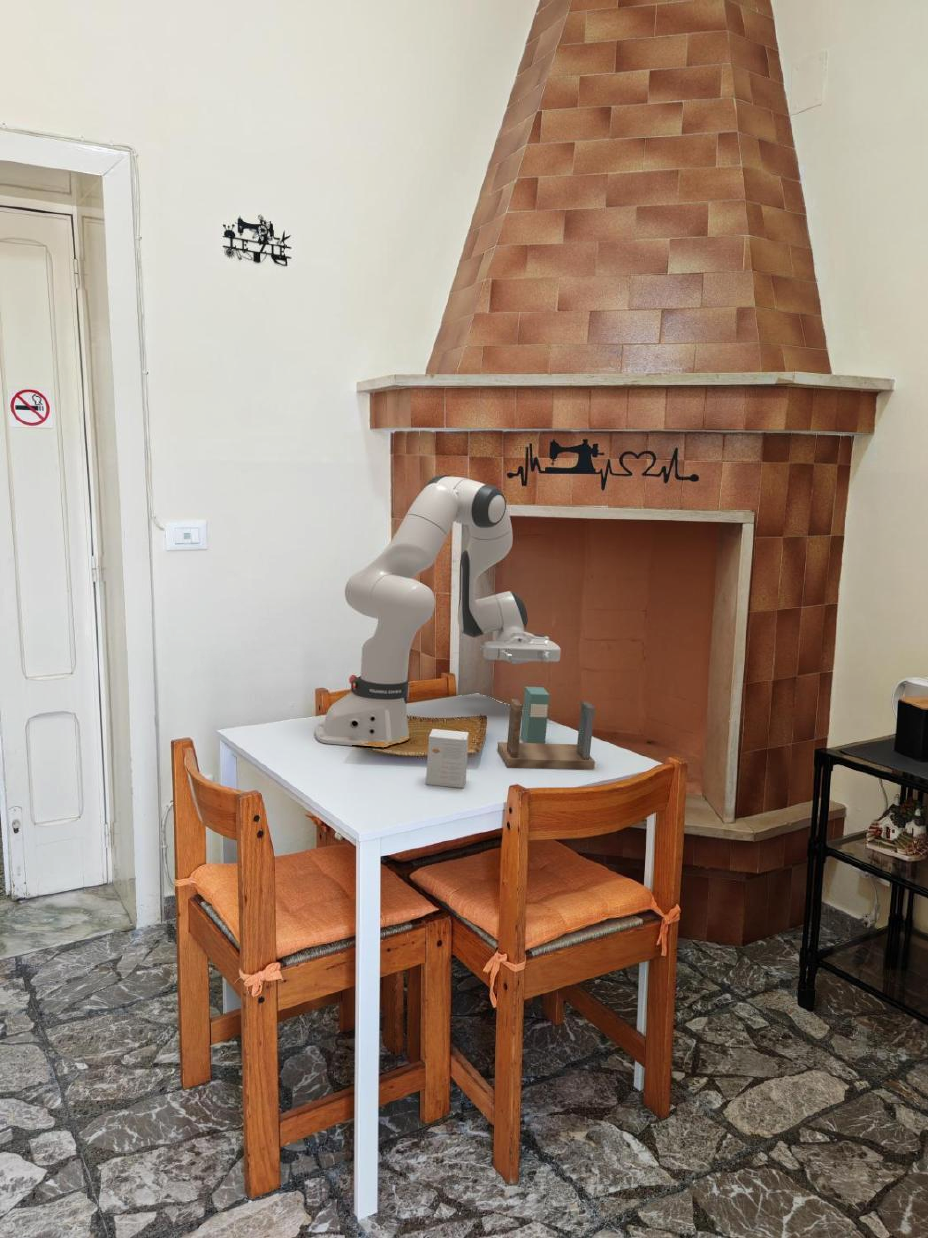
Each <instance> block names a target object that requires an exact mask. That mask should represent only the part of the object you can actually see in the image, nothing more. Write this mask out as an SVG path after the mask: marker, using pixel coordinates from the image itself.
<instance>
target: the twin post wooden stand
mask: <svg viewBox="0 0 928 1238" xmlns="http://www.w3.org/2000/svg"><path fill="white" fill-rule="evenodd" d="M522 714H523V704H522V703H521V702H520V700H519V699H518V698H511V699H510V710H509V718H508V730H507V731H508V732H507V740H506V742H503V741H499V742H497V749H496V750H497V752H498V754H499V757H501V759H502V761H503V763H504V765H505V766H506V768H507V769H508V768H509V769H510V768H512V769H513V768H514V769H517V768H518V769H548V770H549V769H550V770H551V769H552V770H584V769H594V770H595V764H596V761H595V759H593V757H592V756H591V755H590V758H589V760H583V759H582V758H581V757H580V755H579V754H578V753H577V752H576V751H577V744H575V743H574V744H573V743H570V744H569V743H546V742H545V743H524V742H520V740H521V738H520V736H521V725H522Z"/></svg>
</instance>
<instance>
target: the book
mask: <svg viewBox="0 0 928 1238" xmlns="http://www.w3.org/2000/svg"><path fill="white" fill-rule="evenodd" d="M549 703H550V693H548V691H547V690H546V689H545V688H544V687H542V686H541V687H540V686H524V694H523V704H522V706H523V707H522V718H521V729H520V740H521V741H522V743H545V744H546V738H547V737H546V736H547V727H548V726H547V724H548V715H549V706H550V705H549Z"/></svg>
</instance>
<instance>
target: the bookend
mask: <svg viewBox="0 0 928 1238" xmlns="http://www.w3.org/2000/svg"><path fill="white" fill-rule="evenodd" d="M580 705H581V706H580V714H579V721H578V723H579V724H578V732H577V733H578V734H577V742H576V743H577V751H576V752H577V753H578V754H579V755H580V757H581V758H582V759H583V760H589V758H590V756H591V747H592V746H591V745H592V740H593V739H592V737H593V730H594V729H593V727H594V720H595V718H594V717H595V707H594V706H593V705H592V704H591V703H590V702H589V701H581V703H580Z"/></svg>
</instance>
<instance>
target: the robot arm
mask: <svg viewBox="0 0 928 1238" xmlns="http://www.w3.org/2000/svg"><path fill="white" fill-rule="evenodd" d="M454 522H456V523H457V524H461V525H466V526H468V529H469V530H468V531H469V542H468V545H467V547H466V549H465V550H464V551H462V552H461V555H460V561H459V581H458V582H459V584H458V587H459V590H458V594H459V595H458V596H459V597H458V607H457V608H458V609H457V610H458V611H457V624H458V626H459V629H460V631H461V633H462V634H464V635H466V636H469V637H471V638H473V639H475V638H478V637H481V636H483V635H485V634H489V633H492V640H493V641H491V640H489V641H488V640H487V641H484V644H480V646H479V649H480V650H481V651H483V658H484V659H486V660H491V661H492V660H494V661H506V662H509V663H510V664H514V665H520V664H523V663H529V662H542V663H549V662H552V663H553V662H555V663H557V662H559V661H560V660H561V653H562V652H561V651H562V649H561V647H560V646H559V644H556V643H555V642H554V641H552V640H550V637H549V636H547V635H546V636H545V635H542V634H541V635H540V634H535V633H530V632H528V631H525V630H526V628H527V625H528V622H529V621H528V620H529V617H528V613H527V612H528V611H527V609H526V606H525V604H524V601H523V600H522V598H521V597H520V596H519V594H516V593H515V592H514V591H511V590H508V591H504V592H499V593H496V594H493V595H489V596H487V597H483V598H482V597H481V598H478V599H476V597H477V596H476V590H477V589H476V588H477V580H478V579H479V577H480V576H481V575H482V574H483V572H485V571H486V570H488V569H490V568H491V567H492V566H494V565H495V564H497V563H499V562H500V561H502V560H503V559H504V558H505V557H506V556H507V555H508V554H509V552H510V551H511V549H512V547H513V540H514V539H513V537H514V535H513V527H512V522H511V517H510V512H509V508H508V505H507V500H506V497H505V495H504V493H503V491H501V490H500V489H499V488H498V487H496V486H494V485H492V484H488V483H487V484H486V483H482V482H481V481H476V480H473V479H471V478H466V477H460V476H451V475H449V474H444V475H443V474H441V475H435V476H434V477H432V478H431V479H430V480H429V481H428V482H427V484H426V485H425V487H424V488H423V489H422V490H421V492H420V493H419V494H418V495H417V496H416V498H415V499H414V501H413V503H412V504H411V506H410V507H409V509H408V510H407V513H406V514H405V516H404V518H403V520H402V522H401V523H400V525H399V527H398V529H397V531H396V532H395V534H394V536H393V538H392V540H391V541H390V542H389V544H388V545H387V547H386V548H384V549H383V551H382V552H381V553H380V554H379V555H378V556H377V557H376V558H375V559H374V560H373V561H372V562H371V563H370V564H368V565H367V566H366V567H365V568H363V569H361V570H358V571H357V572H355V573H353V574H352V575H351V576H350V577H349V578H348V580H347V581H346V584H345V588H344V598H345V600H346V603H347V604H348V606H350V608H351V609H353V610H355V611H356V612H358V613H360V614H361V615H362V616H366V617H369V618H371V619H372V618H373V619H376V620H377V625H376V628H375V630H374V634H373V635H372V637H370V638H369V639H367V640H366V641H364V643H363V645H362V647H361V662H360V675H359V676H357V675H354V674H352V675H350V676H349V679H348V680H349V684H350V692H349V693H347V694H346V695H344V696H343V697H341V698H340V699H339V700H337V701H336V702H334V703H332V704H331V705H330V706H329V708H328V710H327V712H326V715H325V718H324V719H325V720H324V722H322V723H319V724H318V725H317V726H315V729H314V730H315V731H314V738H315V739H316V740H317V741H318V742H320V743H323V744H327V745H328V744H329V745H339V746H340V745H342V746H352V744H353V745H354V744H361V743H368V742H375V741H380V742H387V743H388V742H393V741H398V740H400V739H402V738H404V737H406V736H407V735H408V734H410V729H409V724H408V715H407V714H408V712H407V711H408V710H407V704H408V700H409V695H410V684H409V683H410V681H409V679H408V673H409V661H410V651H411V648H412V644H413V641H414V639H415V636H416V634H417V632H418V631H419V629H420V628H421V627H422V626H423V625H424V624H426V623H427V622H428V621H429V620H430V619H431V618H432V616H433V614H434V611H435V607H436V598H435V595H434V592H433V590H432V589H431V588H430V587H429V586H427V585H425V584H424V583H422V582H420V581H418V580H416V579H415V578H414V577H416V576H417V575H418V574H420V573H421V572H424V571H426V570H428V569H429V568H430V567H432V565H434V563H435V561H436V559H437V557H438V555H439V553H440V551H441V550H442V547H443V546H444V544H445V541H446V540H447V538H448V536H449V534H450V531H451V530H452V527H453V525H454ZM387 743H385V744H387Z"/></svg>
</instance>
